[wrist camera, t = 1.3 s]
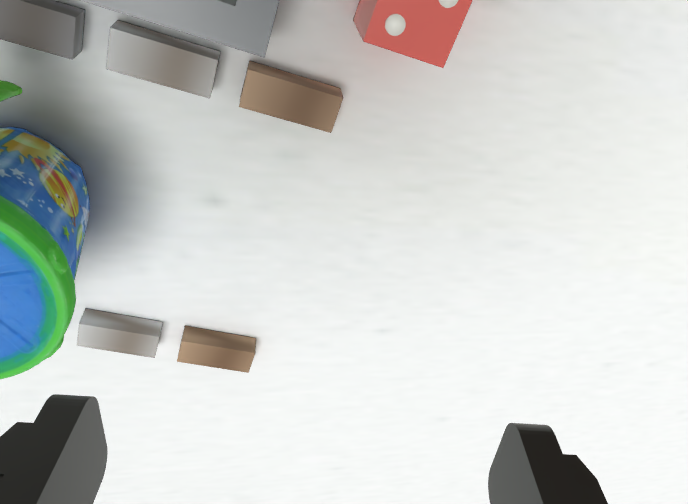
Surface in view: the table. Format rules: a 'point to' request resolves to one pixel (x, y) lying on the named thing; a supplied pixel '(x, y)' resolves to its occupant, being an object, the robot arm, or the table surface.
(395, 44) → the red die
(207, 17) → the frame
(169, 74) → the track markers
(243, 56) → the table surface
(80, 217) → the snack cup
